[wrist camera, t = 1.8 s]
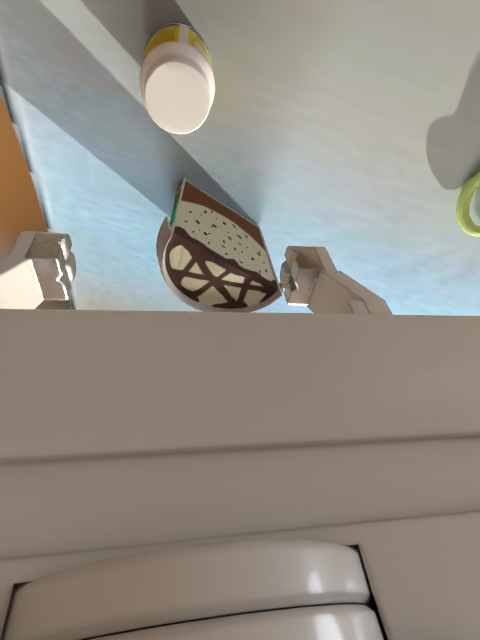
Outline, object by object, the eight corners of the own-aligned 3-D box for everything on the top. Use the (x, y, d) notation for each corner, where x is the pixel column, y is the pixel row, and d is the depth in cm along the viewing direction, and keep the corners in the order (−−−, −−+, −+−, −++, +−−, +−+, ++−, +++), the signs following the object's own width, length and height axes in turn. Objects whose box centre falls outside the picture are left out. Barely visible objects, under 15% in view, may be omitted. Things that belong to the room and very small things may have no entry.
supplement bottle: (142, 86, 28) (131, 128, 23) (150, 10, 25) (140, 37, 19) (202, 105, 30) (206, 149, 24) (218, 35, 26) (226, 68, 21)
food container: (138, 217, 36) (127, 284, 30) (169, 168, 33) (165, 231, 26) (235, 270, 43) (244, 335, 36) (269, 233, 39) (286, 297, 33)
